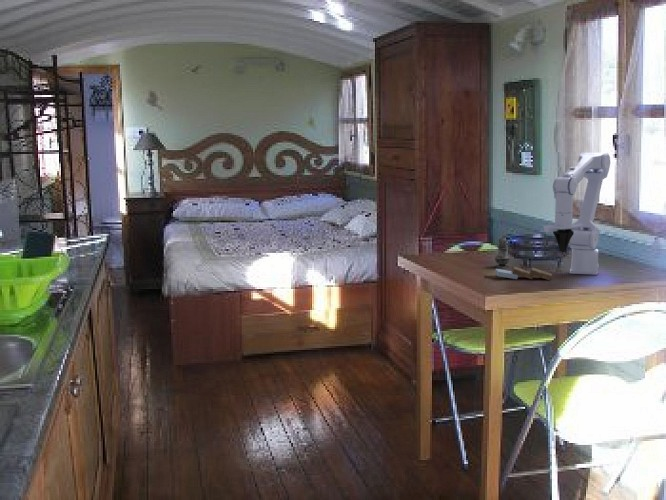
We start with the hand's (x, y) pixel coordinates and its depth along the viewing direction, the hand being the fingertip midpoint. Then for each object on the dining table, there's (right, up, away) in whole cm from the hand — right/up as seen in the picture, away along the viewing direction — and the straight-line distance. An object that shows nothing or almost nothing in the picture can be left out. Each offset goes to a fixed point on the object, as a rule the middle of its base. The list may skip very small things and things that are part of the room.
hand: (562, 251), depth 266 cm
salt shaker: (-15, -6, +28) cm, 32 cm away
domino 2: (-15, -8, +6) cm, 18 cm away
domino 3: (-9, -9, +5) cm, 14 cm away
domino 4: (-3, -9, +3) cm, 10 cm away
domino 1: (-18, -9, +7) cm, 21 cm away
